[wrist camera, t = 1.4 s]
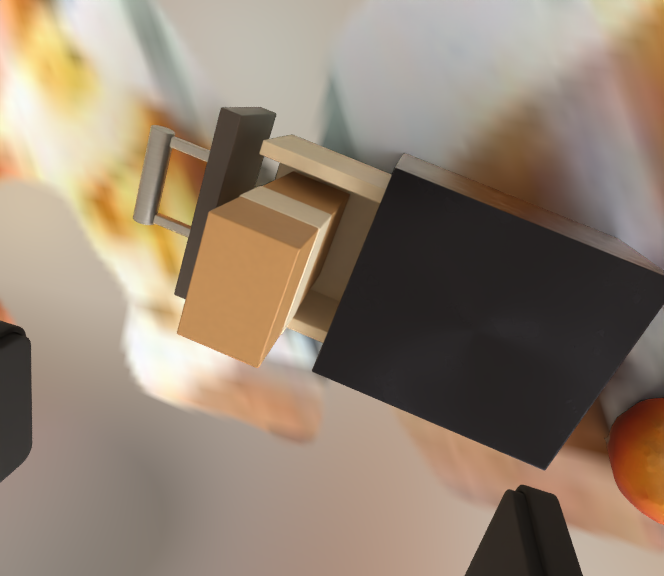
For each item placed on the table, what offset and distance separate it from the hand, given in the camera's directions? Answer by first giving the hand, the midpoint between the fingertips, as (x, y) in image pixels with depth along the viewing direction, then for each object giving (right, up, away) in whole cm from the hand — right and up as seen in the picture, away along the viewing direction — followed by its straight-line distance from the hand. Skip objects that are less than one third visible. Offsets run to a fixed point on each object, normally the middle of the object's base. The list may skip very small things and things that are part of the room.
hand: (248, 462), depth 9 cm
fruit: (+25, -7, +26) cm, 37 cm away
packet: (0, +8, +23) cm, 24 cm away
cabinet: (+11, +4, +25) cm, 27 cm away
